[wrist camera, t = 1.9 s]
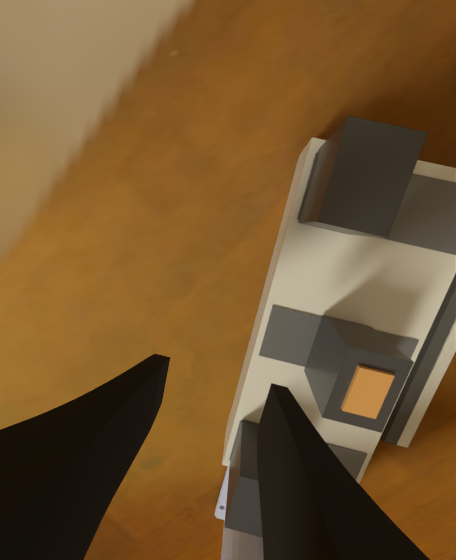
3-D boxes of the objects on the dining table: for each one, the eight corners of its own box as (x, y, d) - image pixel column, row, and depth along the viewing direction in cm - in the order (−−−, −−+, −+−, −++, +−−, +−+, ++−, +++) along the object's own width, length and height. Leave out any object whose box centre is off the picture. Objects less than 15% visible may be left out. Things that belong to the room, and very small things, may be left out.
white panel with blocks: (335, 455, 21) (380, 577, 14) (226, 427, 22) (214, 530, 14) (446, 187, 16) (614, 155, 9) (299, 155, 16) (339, 98, 9)
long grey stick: (400, 437, 20) (407, 447, 19) (377, 431, 20) (384, 441, 20) (488, 253, 17) (503, 255, 16) (461, 247, 17) (474, 248, 16)
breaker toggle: (349, 381, 16) (383, 436, 12) (304, 370, 16) (322, 420, 12) (370, 326, 15) (417, 364, 11) (322, 314, 15) (350, 348, 11)
